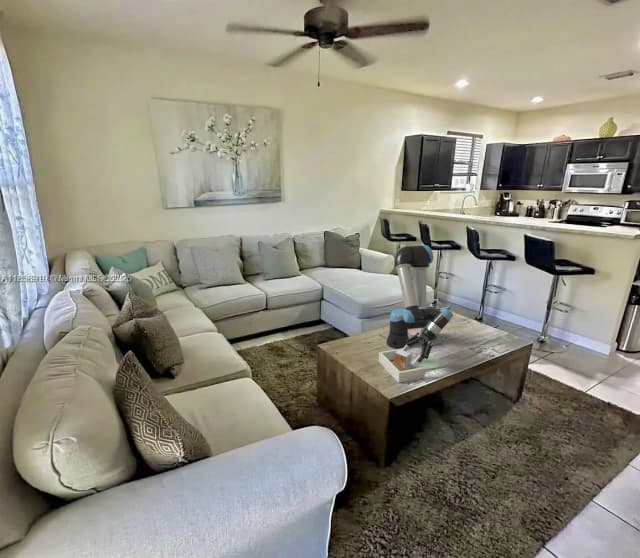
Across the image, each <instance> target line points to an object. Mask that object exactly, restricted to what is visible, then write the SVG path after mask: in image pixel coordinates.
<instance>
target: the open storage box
mask: <svg viewBox="0 0 640 558" xmlns="http://www.w3.org/2000/svg"><path fill="white" fill-rule="evenodd" d="M402 349H403V348H402ZM402 349H401V350H402ZM397 350H399V349H391V350H386V351H385V350H384V351H380V352H378V363H380V365H381V366H382V367H383V368H385V371H387V372H388V373H389V374H390V375H391V376H392V378H394V380H396V382H397V383H398V384H400V383H404V382H409V381H410V380H411V381H415V380H416V381H417V380H420V379H425V374H426V371H425V368H424V367H422V368H421V367H418V368H417V367H416V368H411V369H410V370H406V371H400V370H398V369H397V368H396V367H395V366H394V363H392V362H391V361H394V355H395V352H396V351H397Z"/></svg>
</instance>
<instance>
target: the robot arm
mask: <svg viewBox="0 0 640 558" xmlns="http://www.w3.org/2000/svg"><path fill="white" fill-rule="evenodd" d="M433 261H434V252H433V250H432V247H430V246H429V245H424V244H423V245H422V244H421V245H418V244H417V245H408V246H407V245H406V246H403V247H401V248H400V249H398V251H397V252H396V254H395V256H394V262H393V263H394V264H393V265H394V268H395V269H394V270H395V271H397V275H398V280H399V283H400V284H399V285H400V289H401V293H402V294H401V295H402V297H403V303H404V307H405V308H402V307H401V308H395V309H393V310H392V311H391V312H390V316H389V332H388V336H387V338H386V345H387V346H388V347H389V348H392V349H394V350H396V349H402V348H403V349H402V350H404V351H406V352H408V351H409V349H411V348H410V347H412V346H415V345H417V344H420V345H421V351H420V354H419V355H418V356H417V357H416V358H415V359H416V360H415V361H414V360H413V362H411V366H414V367H416V368H417V366H419V365H418V364H419V362H421V361H422V360H423V359H424V358H426V359H428V357H430V353H431V350H432V348H433V346H434V345H435V344H434V343H433V341H434V339H436V337H437V336H438V335H439V334H440V333H441V331H442V330H443V329H444V328H446V327H447V325H448V323H449V322H450V321H451V319H452V318H453V316H454V314H453V312H452V311H451V310H449V309H448V308H446V307H443V306H442V307H441V309H438V308H436V307H434V306H427V283H428V282H427V273H428V271H427V270H428V269H429V268H430V264H432V263H433ZM410 268H411V269H412V273H411V269H410ZM425 327H427V328H425ZM422 328H425V329H424V330H423V331H422V334H421V333H419V332H416V333H415V335H412V336H411V337H409V333H408V332H409V331H408V330H413V329H414V330H415V329H422Z"/></svg>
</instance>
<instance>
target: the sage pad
mask: <svg viewBox="0 0 640 558" xmlns="http://www.w3.org/2000/svg"><path fill="white" fill-rule="evenodd" d="M416 359H417V358H414V359H413V362H414V361H415V360H416ZM417 366H419V368H422V367H424V368H425V372H427V371H432V370H436V369H442V368H446V367H447V365H446V363H444V362H443V361H441V360H440V359H439V358H438V357H437V356H435V355H432V356H430V355H429V357H428V359H426V358H424V359H423V360H422V361H421V362H419V364H418V365H417Z"/></svg>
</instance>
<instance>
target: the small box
mask: <svg viewBox="0 0 640 558" xmlns="http://www.w3.org/2000/svg"><path fill="white" fill-rule="evenodd" d="M393 362H394V363H393V365H394V366H395V367H396V368H397V369H398V370H399V371H406V370H411V369H412V353H411V352H409V351H407V352H406V351H404V350H401V349H399V350H397V351H396V352H395V355H394V360H393Z"/></svg>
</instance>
